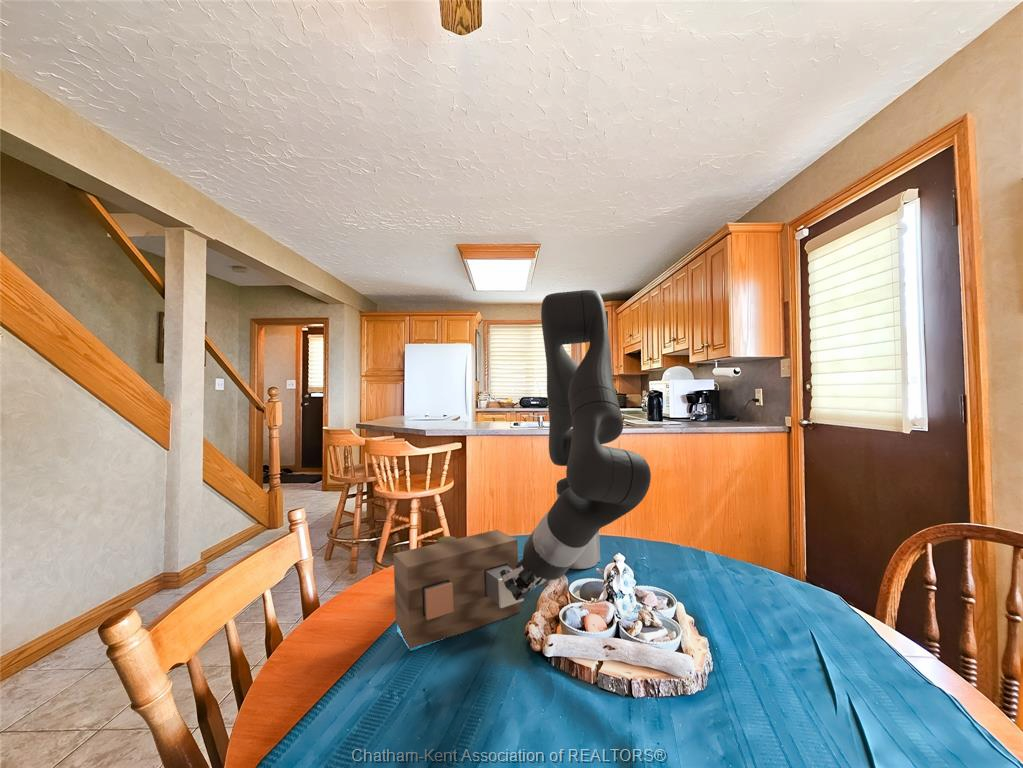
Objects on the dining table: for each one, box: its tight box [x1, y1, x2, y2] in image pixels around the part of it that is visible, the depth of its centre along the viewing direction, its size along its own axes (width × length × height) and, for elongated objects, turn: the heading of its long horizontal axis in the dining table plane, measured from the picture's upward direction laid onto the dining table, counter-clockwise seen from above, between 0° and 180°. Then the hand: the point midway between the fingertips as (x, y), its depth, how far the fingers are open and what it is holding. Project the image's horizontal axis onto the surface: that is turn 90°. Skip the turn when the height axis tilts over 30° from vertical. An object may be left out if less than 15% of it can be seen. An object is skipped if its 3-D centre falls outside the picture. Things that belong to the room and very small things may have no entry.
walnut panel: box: [393, 529, 521, 649], centre depth 80 cm, size 22×8×14 cm, turn 122°
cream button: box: [484, 564, 525, 608], centre depth 79 cm, size 5×9×5 cm, turn 32°
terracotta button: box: [422, 581, 454, 620], centre depth 76 cm, size 5×9×5 cm, turn 32°
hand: (517, 594), depth 74 cm, fingers closed
